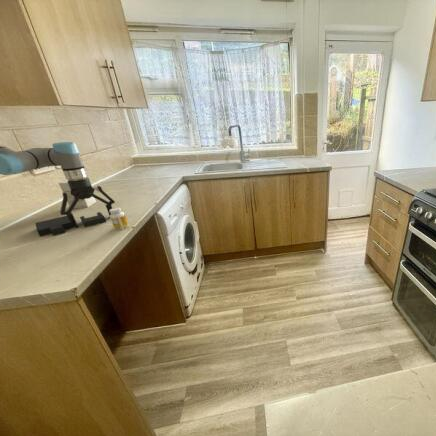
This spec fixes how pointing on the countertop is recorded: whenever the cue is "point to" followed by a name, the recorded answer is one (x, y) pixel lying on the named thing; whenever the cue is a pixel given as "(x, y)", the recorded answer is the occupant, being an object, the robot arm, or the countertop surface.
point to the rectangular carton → (80, 203)
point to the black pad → (93, 220)
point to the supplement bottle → (118, 219)
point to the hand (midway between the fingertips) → (94, 222)
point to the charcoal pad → (54, 226)
